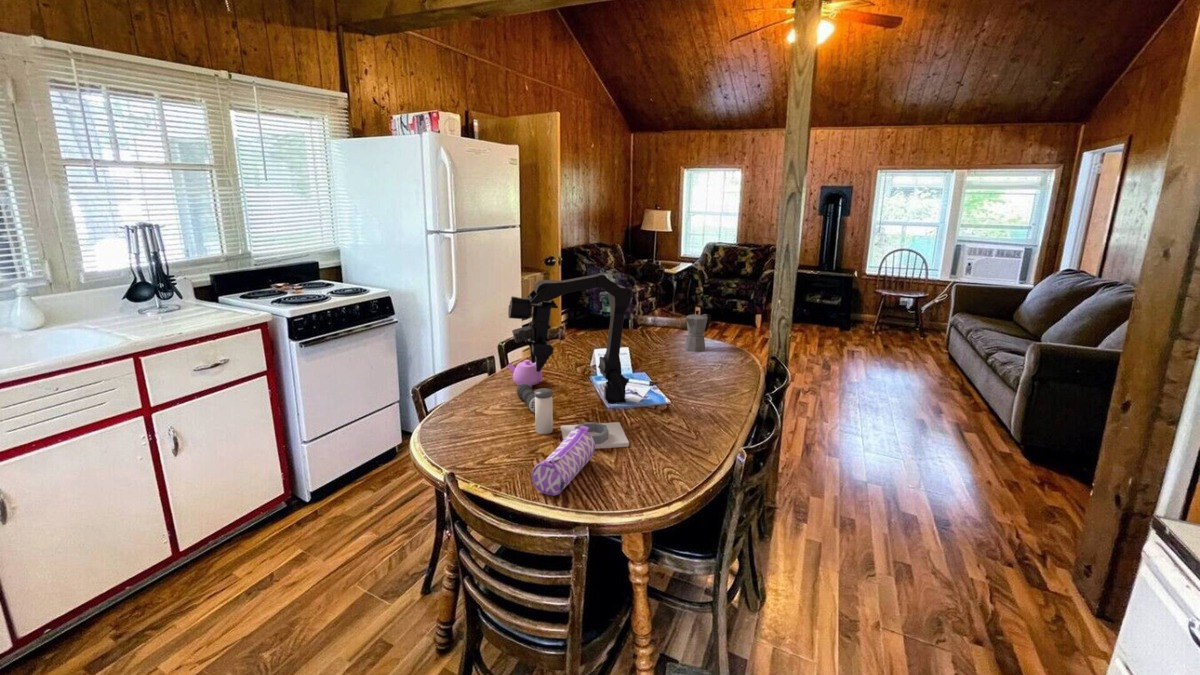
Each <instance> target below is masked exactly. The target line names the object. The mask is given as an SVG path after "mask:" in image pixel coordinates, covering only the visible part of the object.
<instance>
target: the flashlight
mask: <svg viewBox="0 0 1200 675" xmlns="http://www.w3.org/2000/svg"><path fill="white" fill-rule="evenodd" d="M534 391H535V390H533V387H532V388H531V387H530V386H529V385H527V384H521V385H520V386H517V389H516V395H517V396H518V398H519V399H521V400H522V401H524V403H525V405H526V406H527V408H528V409H529V410H530V411H531V412H532V413H534V414H535V396H534Z"/></svg>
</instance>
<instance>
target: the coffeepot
mask: <svg viewBox="0 0 1200 675" xmlns="http://www.w3.org/2000/svg"><path fill="white" fill-rule="evenodd" d="M699 313H700V310H695V314H688V315H686V318H685V321H686V328H687V331H688V332H687V333H688V334H687V337H686V341H685V345H684V348H685V350H686V351H689V352H692V353H693V352H695V353H698V352H699V353H700V352H704V351H706V342H705V335H704V333H705V332H707V331H708V329H709V326H710V323H711V321H712V316H711V315H710V314H709V313H704V314H699Z"/></svg>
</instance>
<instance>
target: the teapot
mask: <svg viewBox="0 0 1200 675" xmlns="http://www.w3.org/2000/svg"><path fill="white" fill-rule="evenodd" d="M507 367H508V368H509V369H510V371H511V372H512V373H513V374H512V380H513V382H514V384H516V386H517V387H519V386H520V385H521V384H527V385H529V386H530V387H531V388H532V389H533V386H534V385H539V383H540V382H543V381H544V378H543V368H542V369H541V371H540V372H537V371H536V361H535V363H532V362H531V360H530V359H524V360H523V361H521V362H519V363H517V365H516V367H515V366H514V365H513V363H511V362H510V363H508V364H507Z"/></svg>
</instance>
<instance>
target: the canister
mask: <svg viewBox="0 0 1200 675" xmlns="http://www.w3.org/2000/svg"><path fill="white" fill-rule="evenodd" d="M533 391H534V396H535V409H534V410H535V413H534V414H535V416H534V418H535V419H534V422H535V426H534V427H535V430H534V431H535V433H537V434H539V435H548V434H551V433H553V431H554V427H553V426H554V425H553V424H554V420H553V417H554V416H553V414H554V413H553V407H554V406H553V402H554V401H553V395H554V394H553V393H554V391H553V389H551V388H547V387H543V388H542V387H541V388H537V389H534V390H533Z"/></svg>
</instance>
